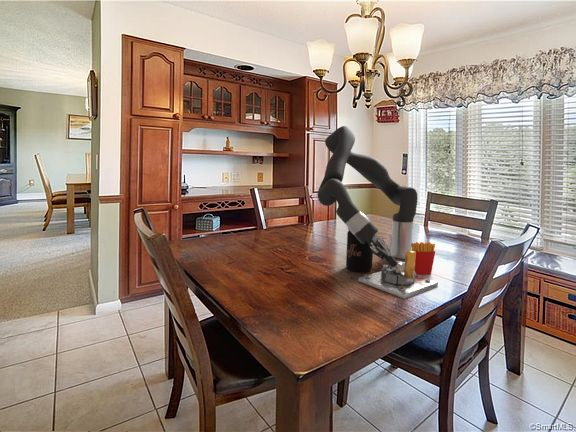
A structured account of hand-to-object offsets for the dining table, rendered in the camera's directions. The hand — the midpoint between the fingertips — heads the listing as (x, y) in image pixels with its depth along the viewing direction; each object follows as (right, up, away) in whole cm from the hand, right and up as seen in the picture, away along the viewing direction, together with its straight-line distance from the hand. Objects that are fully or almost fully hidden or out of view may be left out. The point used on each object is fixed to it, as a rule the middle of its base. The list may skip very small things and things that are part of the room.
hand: (395, 265), depth 118 cm
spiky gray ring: (+4, -7, +7) cm, 11 cm away
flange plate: (+4, -8, +10) cm, 14 cm away
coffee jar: (-7, -6, +27) cm, 28 cm away
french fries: (+17, -7, +22) cm, 29 cm away
